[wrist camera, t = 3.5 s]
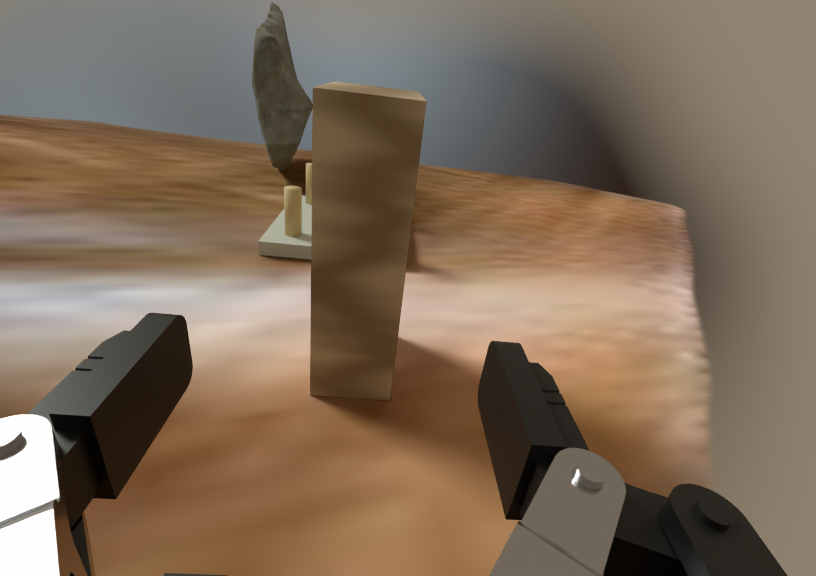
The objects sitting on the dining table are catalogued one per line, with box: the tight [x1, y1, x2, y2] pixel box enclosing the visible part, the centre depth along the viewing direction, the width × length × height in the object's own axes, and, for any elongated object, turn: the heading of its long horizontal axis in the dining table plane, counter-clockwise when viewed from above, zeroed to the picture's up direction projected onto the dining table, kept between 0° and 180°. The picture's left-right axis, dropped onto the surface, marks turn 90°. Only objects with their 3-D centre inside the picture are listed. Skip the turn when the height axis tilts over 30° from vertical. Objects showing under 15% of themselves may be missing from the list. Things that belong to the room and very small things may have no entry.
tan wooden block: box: [310, 82, 426, 401], centre depth 21 cm, size 4×6×14 cm, turn 1°
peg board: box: [258, 163, 312, 260], centre depth 40 cm, size 12×14×5 cm
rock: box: [252, 2, 313, 172], centre depth 55 cm, size 27×6×20 cm, turn 18°
